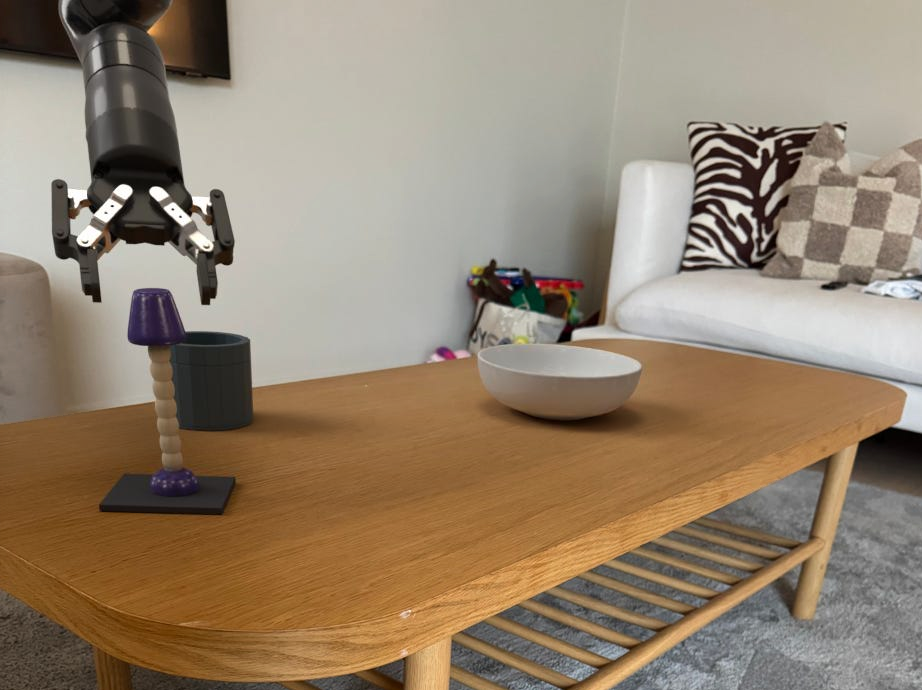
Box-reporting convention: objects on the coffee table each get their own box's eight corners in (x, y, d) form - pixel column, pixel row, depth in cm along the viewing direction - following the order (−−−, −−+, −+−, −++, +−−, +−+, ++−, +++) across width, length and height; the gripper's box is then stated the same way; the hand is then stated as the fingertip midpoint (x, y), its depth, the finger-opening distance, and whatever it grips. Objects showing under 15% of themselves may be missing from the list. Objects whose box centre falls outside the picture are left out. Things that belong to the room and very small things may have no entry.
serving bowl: (441, 403, 124) (443, 348, 121) (555, 389, 137) (559, 339, 134) (554, 440, 111) (560, 380, 108) (668, 421, 123) (677, 366, 120)
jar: (156, 428, 104) (148, 343, 100) (173, 408, 113) (166, 329, 109) (247, 432, 106) (243, 348, 102) (257, 411, 114) (254, 333, 110)
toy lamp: (160, 501, 81) (142, 294, 74) (132, 487, 84) (111, 287, 77) (209, 490, 85) (196, 291, 77) (180, 478, 87) (165, 284, 80)
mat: (99, 511, 80) (98, 504, 80) (124, 479, 88) (123, 473, 88) (221, 514, 81) (221, 508, 81) (235, 483, 89) (235, 476, 89)
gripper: (38, 96, 77) (53, 263, 73) (219, 112, 82) (244, 270, 77) (48, 168, 84) (63, 325, 79) (216, 178, 89) (238, 327, 84)
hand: (152, 297), depth 78 cm, fingers open, 8 cm apart
